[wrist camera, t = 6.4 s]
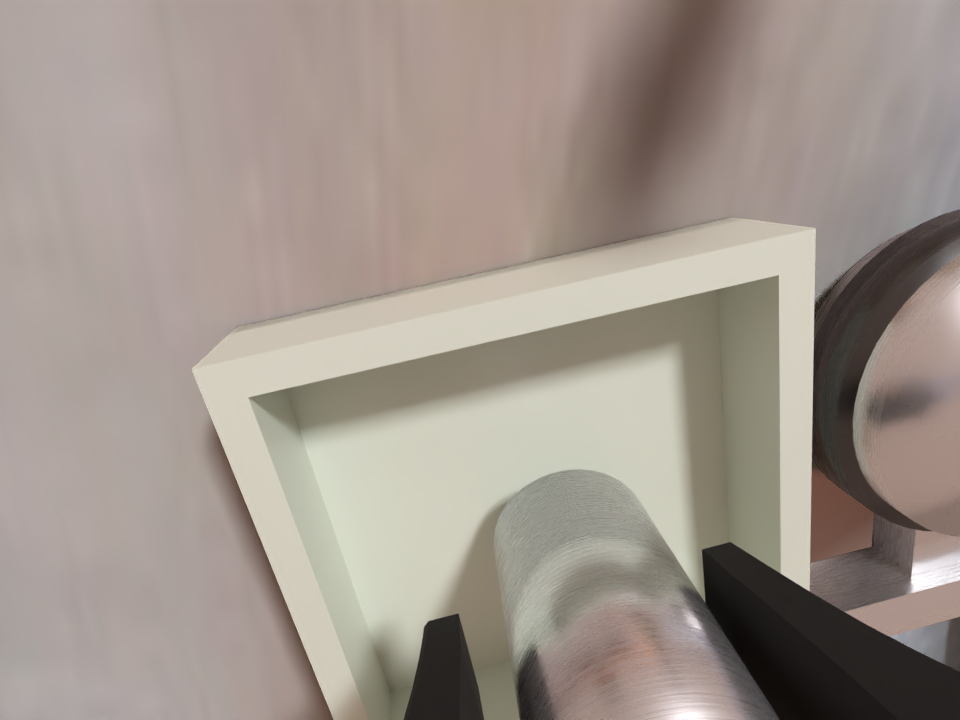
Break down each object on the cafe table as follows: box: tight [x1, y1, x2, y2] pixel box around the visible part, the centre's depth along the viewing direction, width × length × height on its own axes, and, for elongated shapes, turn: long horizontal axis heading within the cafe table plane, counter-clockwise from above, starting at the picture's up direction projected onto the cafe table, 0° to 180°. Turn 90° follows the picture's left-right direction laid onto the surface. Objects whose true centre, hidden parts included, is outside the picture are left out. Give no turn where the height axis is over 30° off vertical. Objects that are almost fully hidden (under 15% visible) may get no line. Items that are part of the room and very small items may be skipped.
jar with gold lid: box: [493, 469, 780, 720], centre depth 10 cm, size 5×5×9 cm
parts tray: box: [192, 217, 816, 720], centre depth 14 cm, size 13×13×3 cm
